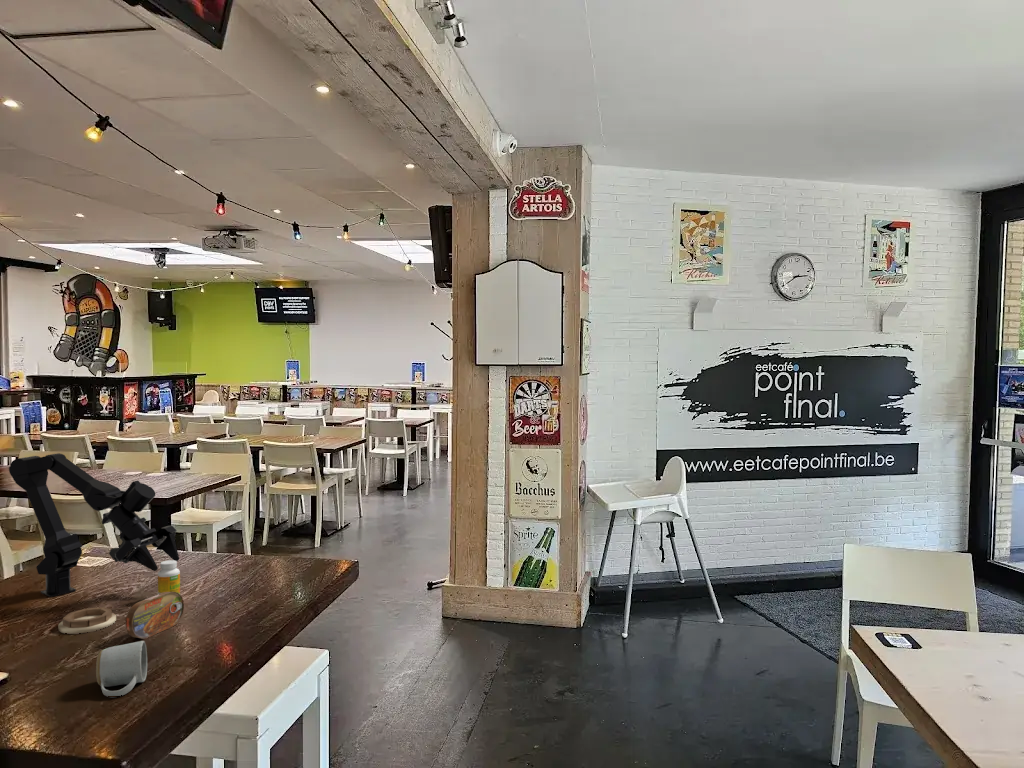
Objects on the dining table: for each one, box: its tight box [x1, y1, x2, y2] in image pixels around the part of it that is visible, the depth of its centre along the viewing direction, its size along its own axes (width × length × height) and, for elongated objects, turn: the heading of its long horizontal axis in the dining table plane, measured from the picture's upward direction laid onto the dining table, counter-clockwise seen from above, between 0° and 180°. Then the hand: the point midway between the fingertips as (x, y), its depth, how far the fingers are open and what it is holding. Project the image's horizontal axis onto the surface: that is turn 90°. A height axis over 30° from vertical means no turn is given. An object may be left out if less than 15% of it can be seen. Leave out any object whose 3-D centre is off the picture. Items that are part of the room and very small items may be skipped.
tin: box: [125, 592, 185, 640], centre depth 167 cm, size 15×3×8 cm, turn 160°
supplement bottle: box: [157, 559, 181, 595], centre depth 192 cm, size 5×5×10 cm
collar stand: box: [58, 606, 117, 635], centre depth 172 cm, size 12×12×2 cm
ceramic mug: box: [95, 640, 148, 697], centre depth 139 cm, size 11×8×8 cm
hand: (167, 565), depth 192 cm, fingers open, 9 cm apart
